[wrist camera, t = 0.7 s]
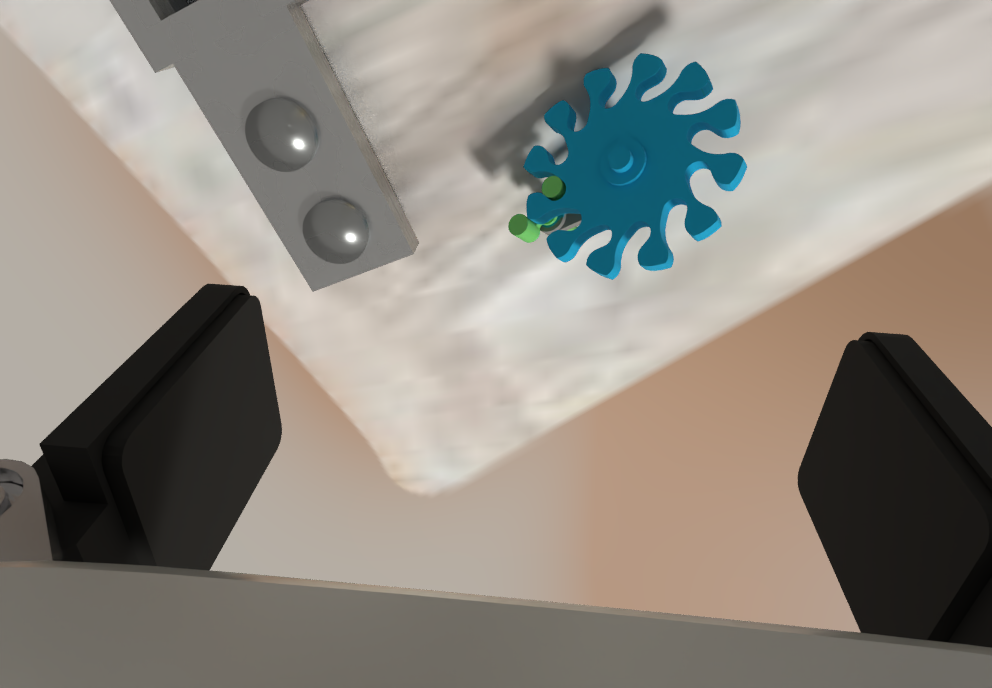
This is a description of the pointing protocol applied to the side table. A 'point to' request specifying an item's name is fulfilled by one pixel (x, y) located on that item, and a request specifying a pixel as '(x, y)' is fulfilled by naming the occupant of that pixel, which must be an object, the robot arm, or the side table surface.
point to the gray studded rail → (281, 127)
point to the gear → (629, 168)
